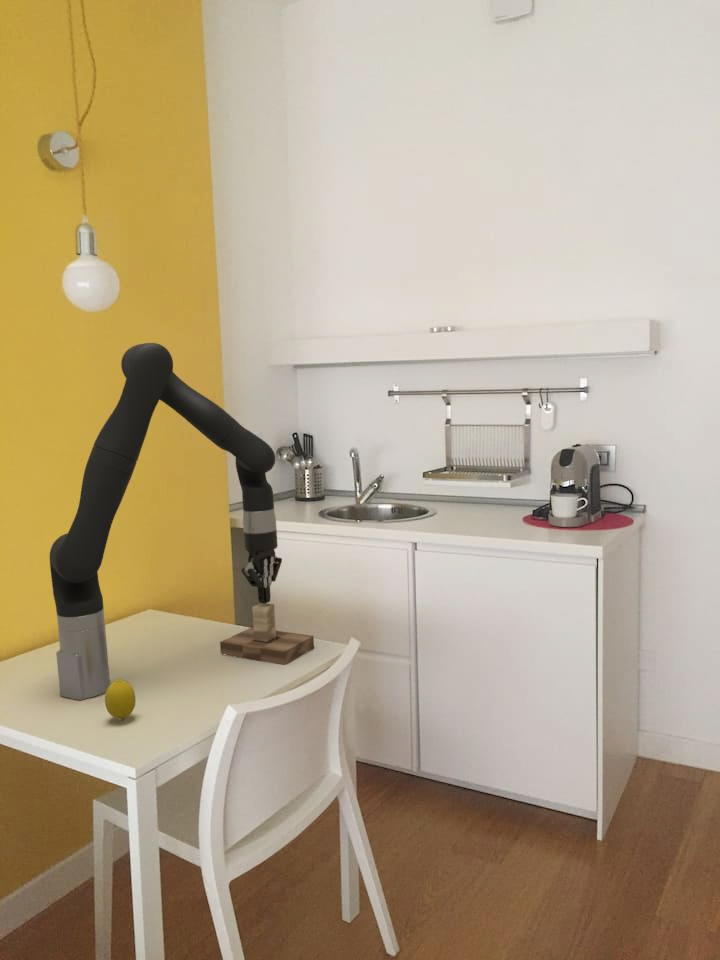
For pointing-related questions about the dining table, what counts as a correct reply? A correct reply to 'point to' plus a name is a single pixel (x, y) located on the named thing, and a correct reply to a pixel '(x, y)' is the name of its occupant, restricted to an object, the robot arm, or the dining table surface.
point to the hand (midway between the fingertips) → (264, 602)
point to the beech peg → (264, 623)
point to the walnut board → (268, 647)
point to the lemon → (120, 699)
